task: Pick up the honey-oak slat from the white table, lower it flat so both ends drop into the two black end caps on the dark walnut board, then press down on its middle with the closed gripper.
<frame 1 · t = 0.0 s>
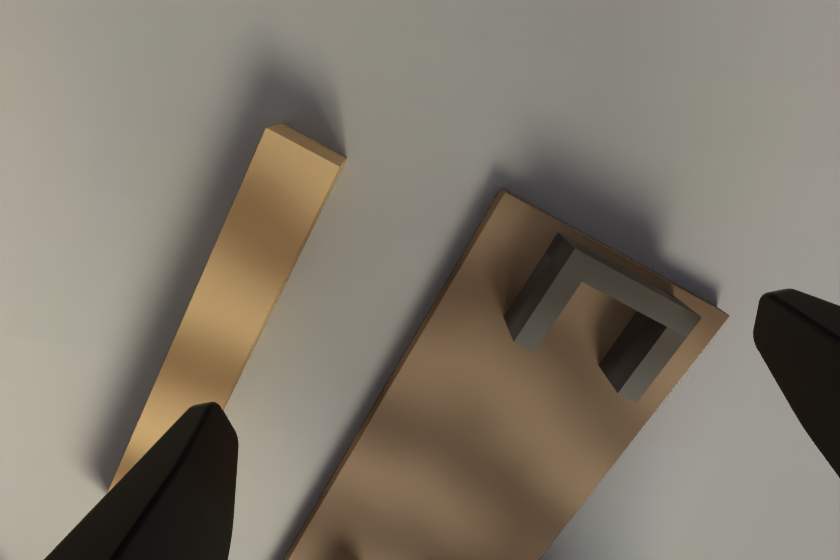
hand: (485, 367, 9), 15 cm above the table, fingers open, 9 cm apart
slat: (219, 345, 26), on the table
endcap frame: (470, 461, 28), on the table
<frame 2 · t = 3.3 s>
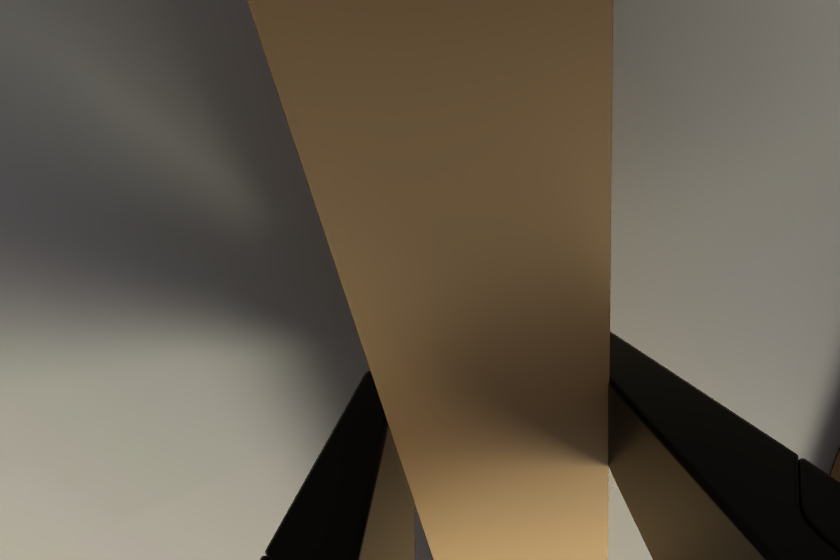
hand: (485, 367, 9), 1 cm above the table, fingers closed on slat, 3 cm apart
slat: (470, 310, 10), on the table, touching gripper
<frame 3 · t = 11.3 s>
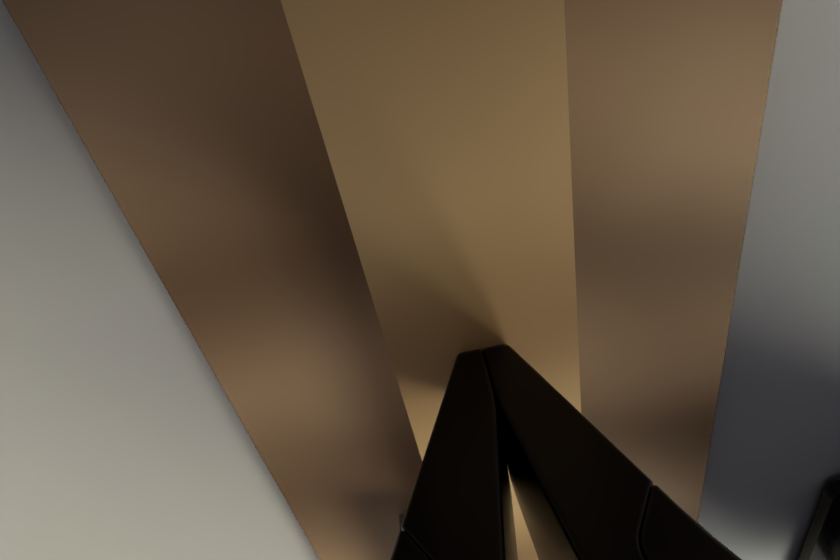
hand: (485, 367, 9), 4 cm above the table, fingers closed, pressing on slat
slat: (462, 265, 11), point 1 cm above the table, touching endcap frame, gripper
endcap frame: (454, 246, 12), on the table
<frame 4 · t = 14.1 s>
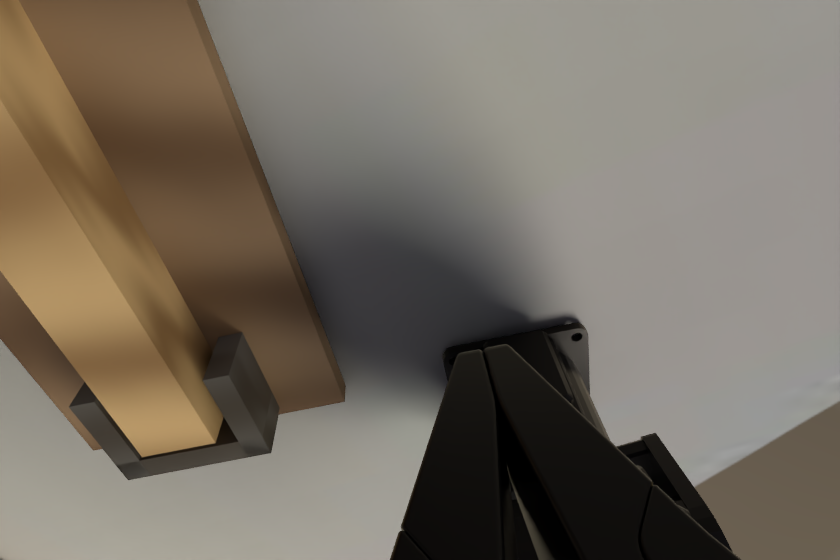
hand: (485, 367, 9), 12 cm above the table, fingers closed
slat: (57, 159, 18), point 1 cm above the table, touching endcap frame
endcap frame: (71, 151, 18), on the table
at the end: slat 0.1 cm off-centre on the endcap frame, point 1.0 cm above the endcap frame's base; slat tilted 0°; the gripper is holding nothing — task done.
